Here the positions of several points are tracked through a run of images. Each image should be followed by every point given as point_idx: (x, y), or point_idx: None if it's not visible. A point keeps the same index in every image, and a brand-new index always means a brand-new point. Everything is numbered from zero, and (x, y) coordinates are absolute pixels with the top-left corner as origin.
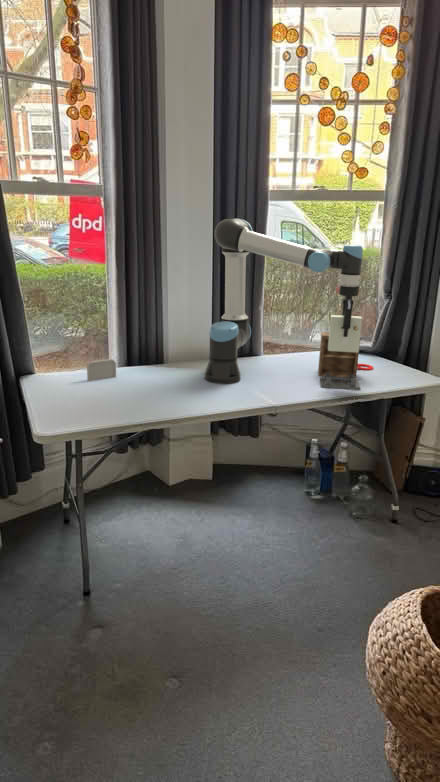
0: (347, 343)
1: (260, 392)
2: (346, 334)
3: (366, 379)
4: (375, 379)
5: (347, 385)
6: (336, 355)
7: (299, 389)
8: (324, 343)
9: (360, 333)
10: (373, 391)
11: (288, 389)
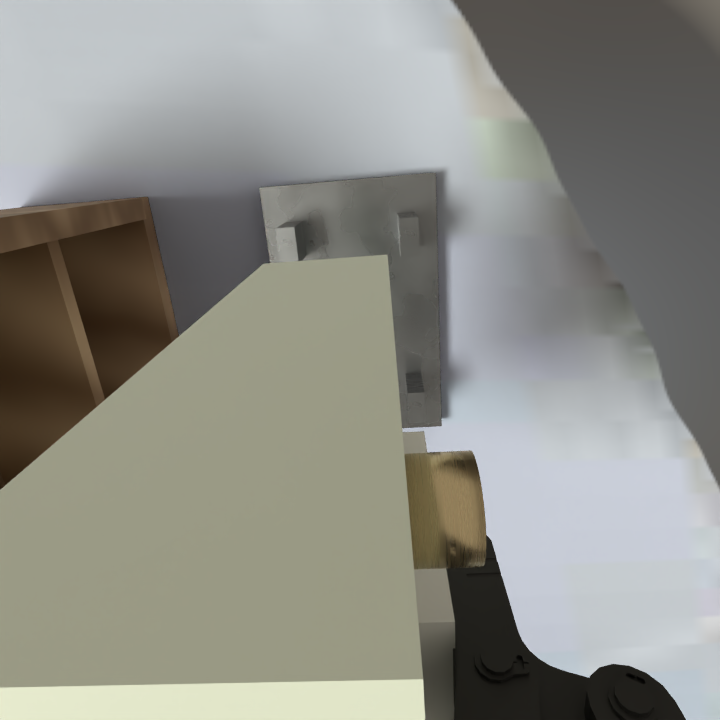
0: (425, 444)
1: (589, 661)
2: (495, 572)
3: (147, 114)
4: (114, 34)
5: (410, 266)
6: (95, 406)
7: (507, 517)
8: None
9: (392, 333)
10: (448, 69)
11: (518, 563)
